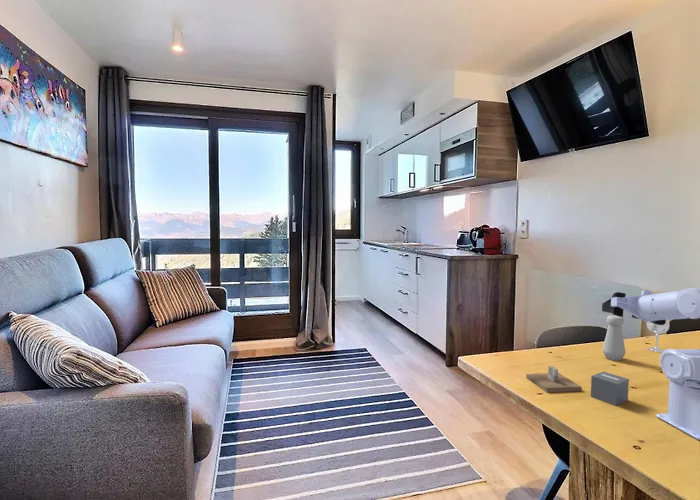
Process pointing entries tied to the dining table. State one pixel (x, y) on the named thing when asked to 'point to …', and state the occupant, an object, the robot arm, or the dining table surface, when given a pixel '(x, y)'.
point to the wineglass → (657, 333)
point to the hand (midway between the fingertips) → (618, 310)
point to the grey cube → (609, 388)
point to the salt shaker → (614, 339)
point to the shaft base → (553, 381)
